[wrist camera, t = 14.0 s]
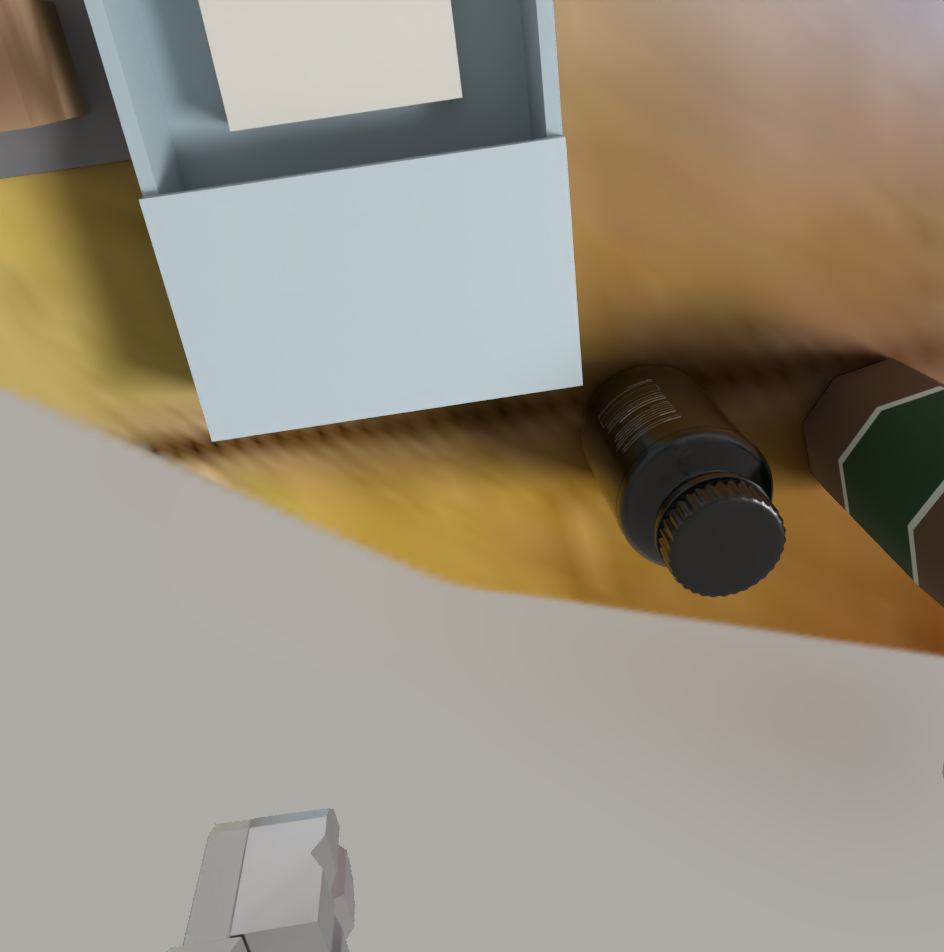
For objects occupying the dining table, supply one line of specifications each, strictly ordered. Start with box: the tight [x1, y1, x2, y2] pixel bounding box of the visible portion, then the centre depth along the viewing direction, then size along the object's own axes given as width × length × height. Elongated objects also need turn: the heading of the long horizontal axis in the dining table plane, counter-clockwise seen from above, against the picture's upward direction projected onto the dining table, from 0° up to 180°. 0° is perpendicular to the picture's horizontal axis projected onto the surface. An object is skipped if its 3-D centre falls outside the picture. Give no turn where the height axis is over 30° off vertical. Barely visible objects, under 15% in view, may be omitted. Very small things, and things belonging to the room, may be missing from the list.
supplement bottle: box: [581, 365, 786, 597], centre depth 38 cm, size 7×7×12 cm
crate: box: [84, 0, 583, 442], centre depth 34 cm, size 20×16×6 cm
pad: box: [0, 0, 132, 179], centre depth 33 cm, size 8×8×1 cm
